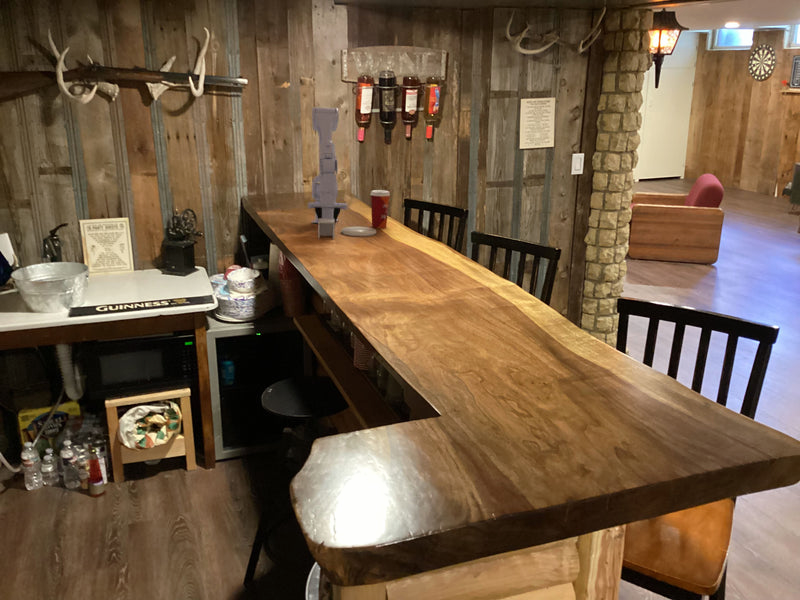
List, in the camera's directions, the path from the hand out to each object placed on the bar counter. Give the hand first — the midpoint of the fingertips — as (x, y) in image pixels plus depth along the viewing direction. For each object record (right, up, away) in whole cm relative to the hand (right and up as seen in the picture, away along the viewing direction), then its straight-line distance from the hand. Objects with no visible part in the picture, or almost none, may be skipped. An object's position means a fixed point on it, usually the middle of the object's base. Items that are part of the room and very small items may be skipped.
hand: (327, 227), depth 260 cm
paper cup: (+19, +2, +13) cm, 23 cm away
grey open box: (0, -4, -8) cm, 9 cm away
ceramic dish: (+12, -2, +1) cm, 12 cm away
